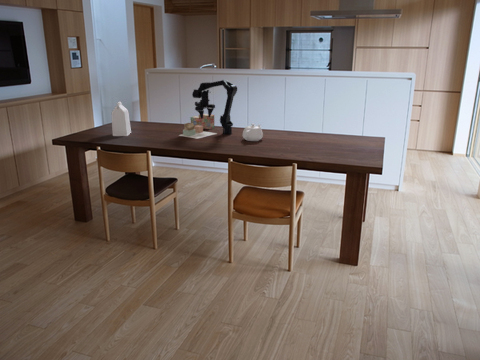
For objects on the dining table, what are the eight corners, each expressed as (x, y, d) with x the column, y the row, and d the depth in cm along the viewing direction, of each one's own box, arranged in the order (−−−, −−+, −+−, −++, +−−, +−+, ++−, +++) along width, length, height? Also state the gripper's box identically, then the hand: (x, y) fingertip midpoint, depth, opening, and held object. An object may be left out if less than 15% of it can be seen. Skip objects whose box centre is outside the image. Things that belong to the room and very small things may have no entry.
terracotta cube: (203, 132, 339) (202, 125, 338) (198, 133, 335) (198, 126, 334) (198, 131, 342) (198, 125, 341) (194, 132, 338) (194, 126, 337)
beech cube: (193, 129, 328) (193, 123, 327) (189, 130, 325) (188, 124, 323) (189, 128, 331) (188, 122, 330) (184, 129, 327) (184, 123, 326)
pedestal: (195, 134, 330) (195, 129, 328) (189, 136, 324) (189, 130, 323) (189, 133, 334) (189, 128, 333) (183, 134, 329) (182, 129, 327)
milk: (127, 136, 328) (124, 102, 320) (112, 136, 328) (109, 102, 320) (131, 132, 339) (128, 100, 331) (117, 132, 340) (114, 100, 331)
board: (217, 134, 333) (217, 133, 333) (197, 139, 315) (197, 138, 315) (199, 131, 345) (199, 130, 345) (178, 136, 327) (178, 135, 327)
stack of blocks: (190, 127, 361) (190, 113, 357) (195, 126, 366) (194, 112, 362) (210, 130, 350) (210, 115, 346) (214, 128, 355) (214, 114, 351)
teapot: (255, 144, 301) (255, 127, 297) (236, 141, 308) (236, 125, 304) (268, 137, 322) (269, 121, 318) (250, 135, 329) (251, 120, 325)
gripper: (204, 96, 345) (205, 115, 349) (189, 99, 330) (190, 118, 335) (215, 97, 338) (215, 116, 343) (200, 100, 324) (200, 119, 329)
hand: (205, 117), depth 338 cm, fingers open, 9 cm apart
